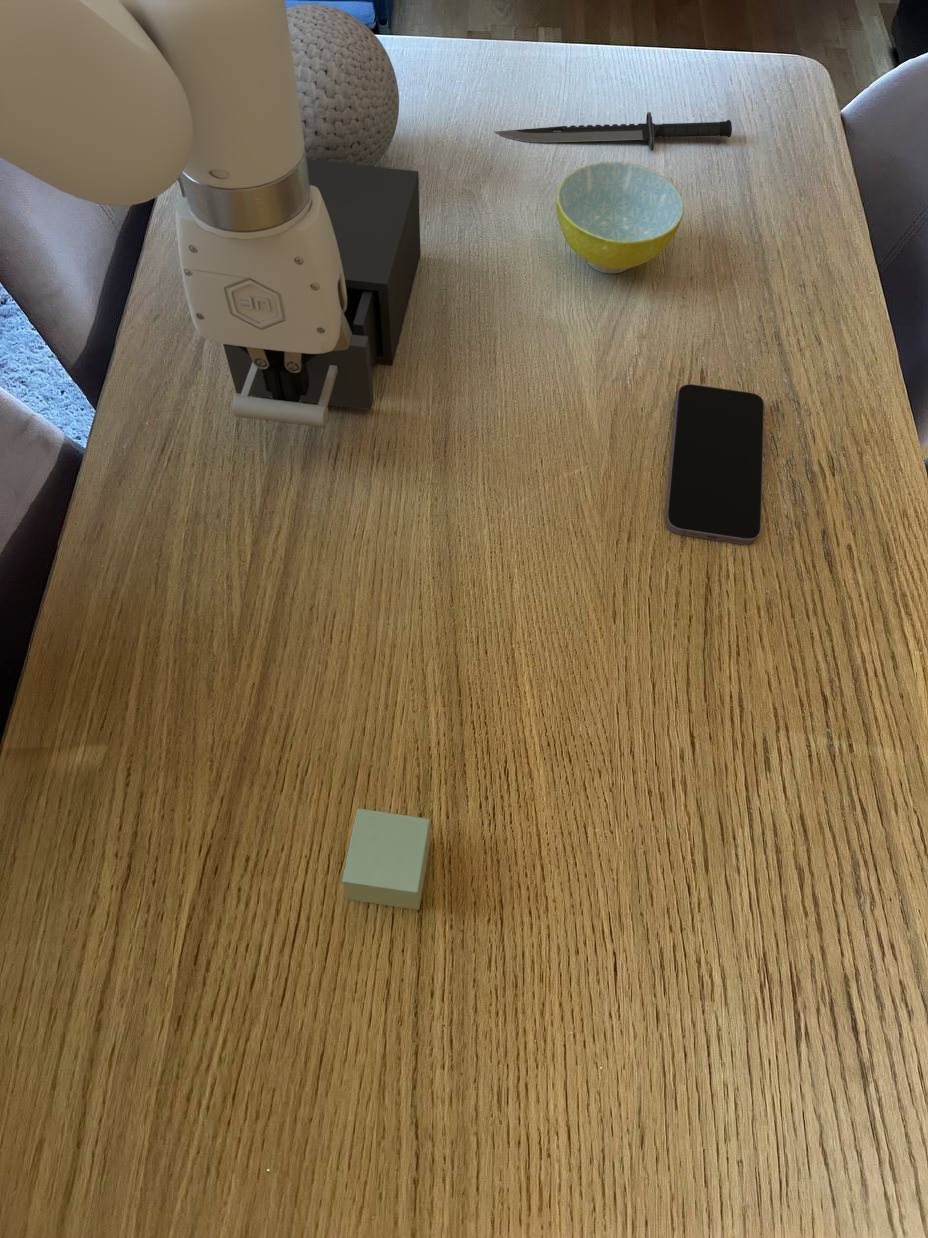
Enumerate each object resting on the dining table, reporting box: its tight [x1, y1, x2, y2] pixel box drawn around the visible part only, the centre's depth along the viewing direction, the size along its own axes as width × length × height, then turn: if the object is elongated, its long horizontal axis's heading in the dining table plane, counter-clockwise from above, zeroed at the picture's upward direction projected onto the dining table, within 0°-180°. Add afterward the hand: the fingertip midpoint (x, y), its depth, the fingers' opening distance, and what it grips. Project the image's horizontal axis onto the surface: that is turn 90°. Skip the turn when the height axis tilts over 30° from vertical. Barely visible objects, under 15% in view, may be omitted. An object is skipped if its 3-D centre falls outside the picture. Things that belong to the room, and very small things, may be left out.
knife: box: [493, 111, 733, 151], centre depth 95 cm, size 25×2×5 cm
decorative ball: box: [286, 3, 400, 167], centre depth 85 cm, size 15×15×15 cm
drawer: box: [222, 287, 382, 428], centre depth 74 cm, size 19×11×7 cm, turn 172°
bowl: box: [556, 161, 685, 275], centre depth 84 cm, size 11×12×6 cm
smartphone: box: [664, 383, 765, 545], centre depth 73 cm, size 7×1×15 cm
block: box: [341, 807, 432, 911], centre depth 55 cm, size 4×4×4 cm
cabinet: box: [307, 159, 422, 367], centre depth 79 cm, size 15×13×9 cm
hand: (290, 396), depth 71 cm, fingers closed
